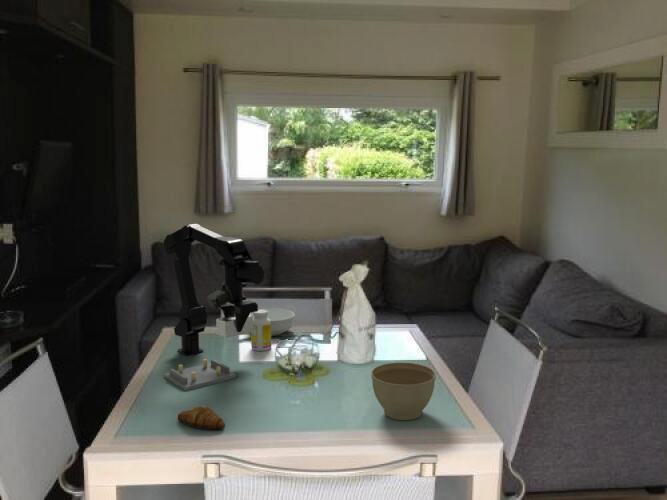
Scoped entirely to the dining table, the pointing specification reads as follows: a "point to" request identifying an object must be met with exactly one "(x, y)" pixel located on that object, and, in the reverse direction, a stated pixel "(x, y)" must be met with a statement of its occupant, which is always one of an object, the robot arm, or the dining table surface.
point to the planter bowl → (403, 388)
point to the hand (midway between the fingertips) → (234, 329)
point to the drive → (232, 326)
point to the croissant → (201, 418)
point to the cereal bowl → (279, 320)
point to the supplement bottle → (261, 331)
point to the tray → (200, 375)
